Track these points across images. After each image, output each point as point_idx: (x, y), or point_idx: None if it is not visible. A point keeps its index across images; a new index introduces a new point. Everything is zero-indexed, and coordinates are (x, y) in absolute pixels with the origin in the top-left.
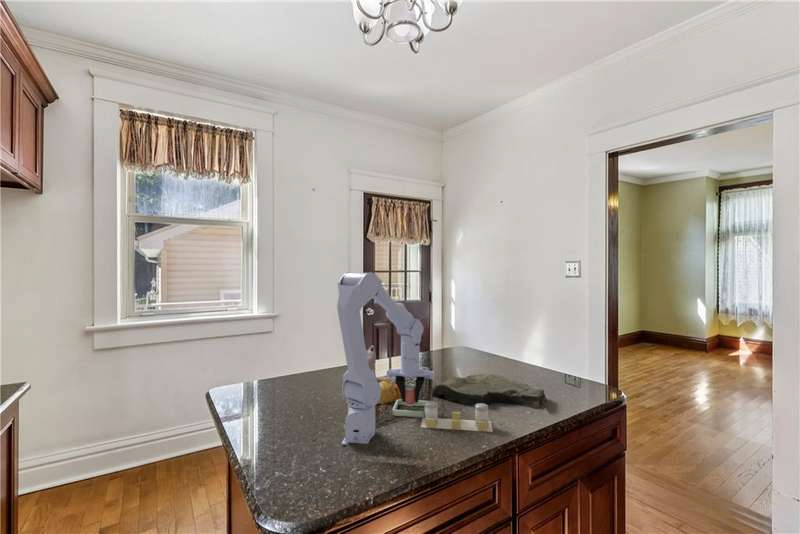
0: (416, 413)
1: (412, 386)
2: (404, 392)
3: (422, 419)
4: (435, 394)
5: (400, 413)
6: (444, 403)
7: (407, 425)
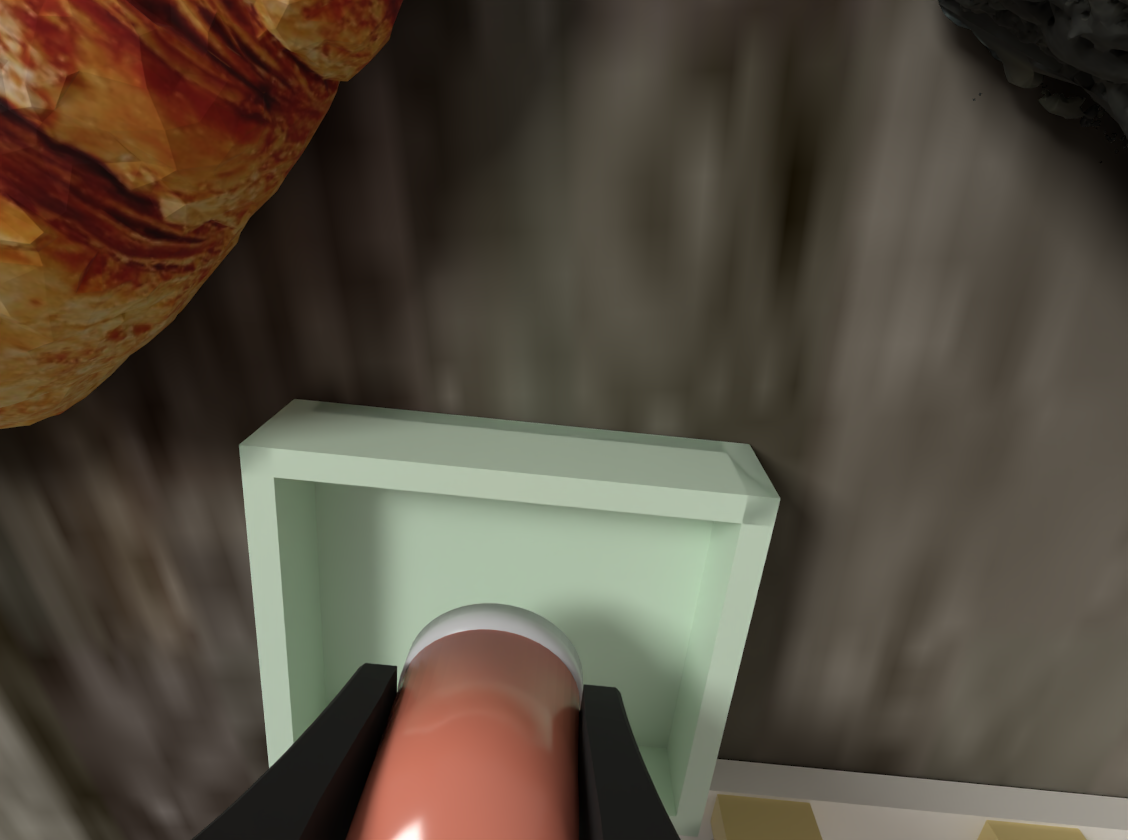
0: None
1: None
2: (345, 829)
3: None
4: (1010, 13)
5: None
6: (1064, 220)
7: None
